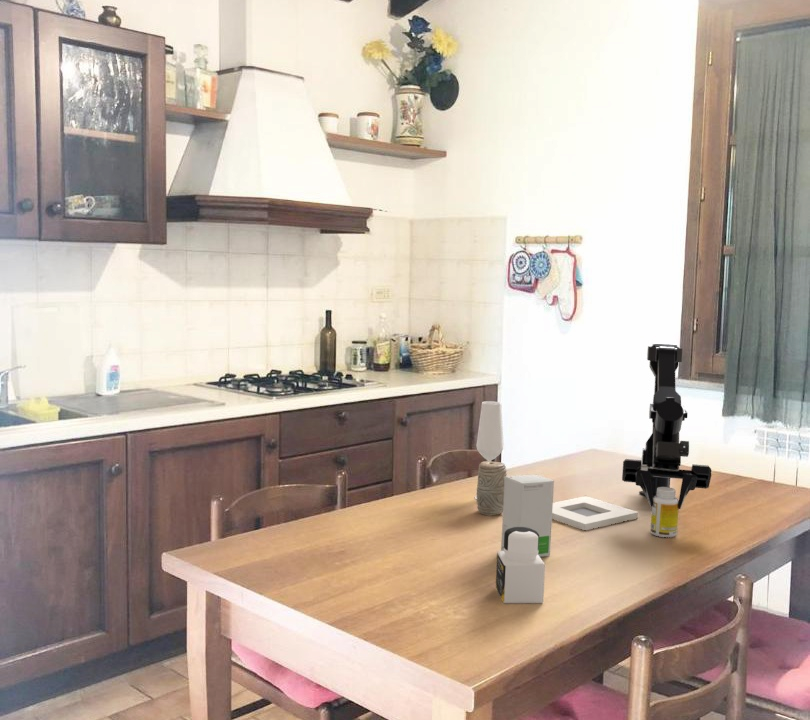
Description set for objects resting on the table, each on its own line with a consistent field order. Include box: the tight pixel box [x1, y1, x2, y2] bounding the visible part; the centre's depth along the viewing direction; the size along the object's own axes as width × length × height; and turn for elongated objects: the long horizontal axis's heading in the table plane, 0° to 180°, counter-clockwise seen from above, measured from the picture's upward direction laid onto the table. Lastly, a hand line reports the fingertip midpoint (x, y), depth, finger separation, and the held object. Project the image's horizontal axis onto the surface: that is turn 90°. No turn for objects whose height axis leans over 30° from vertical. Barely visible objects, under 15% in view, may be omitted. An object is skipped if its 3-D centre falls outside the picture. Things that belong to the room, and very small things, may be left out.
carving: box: [476, 460, 508, 517], centre depth 204 cm, size 6×8×12 cm
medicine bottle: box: [495, 527, 546, 604], centre depth 154 cm, size 7×7×12 cm
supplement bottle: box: [650, 486, 679, 539], centre depth 192 cm, size 6×6×10 cm
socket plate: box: [552, 495, 639, 531], centre depth 205 cm, size 18×16×2 cm
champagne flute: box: [474, 400, 504, 500], centre depth 216 cm, size 7×7×24 cm
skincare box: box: [500, 474, 555, 558], centre depth 177 cm, size 8×7×16 cm
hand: (665, 506), depth 190 cm, fingers closed on supplement bottle, 5 cm apart
